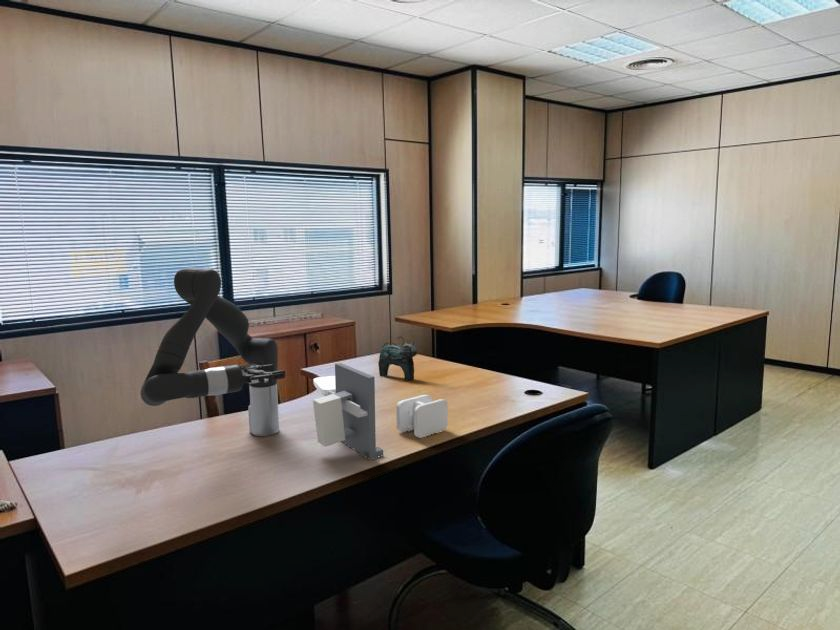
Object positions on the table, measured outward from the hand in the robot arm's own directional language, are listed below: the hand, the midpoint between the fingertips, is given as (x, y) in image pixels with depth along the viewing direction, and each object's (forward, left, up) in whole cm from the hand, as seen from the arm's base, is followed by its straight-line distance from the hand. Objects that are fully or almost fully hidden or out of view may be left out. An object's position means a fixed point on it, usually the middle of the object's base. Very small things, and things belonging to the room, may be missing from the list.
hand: (279, 370), depth 165 cm
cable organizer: (+25, +44, -30) cm, 59 cm away
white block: (+8, +17, -25) cm, 31 cm away
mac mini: (-31, +82, -31) cm, 93 cm away
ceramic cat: (-15, +104, -30) cm, 110 cm away
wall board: (+11, +21, -30) cm, 38 cm away
